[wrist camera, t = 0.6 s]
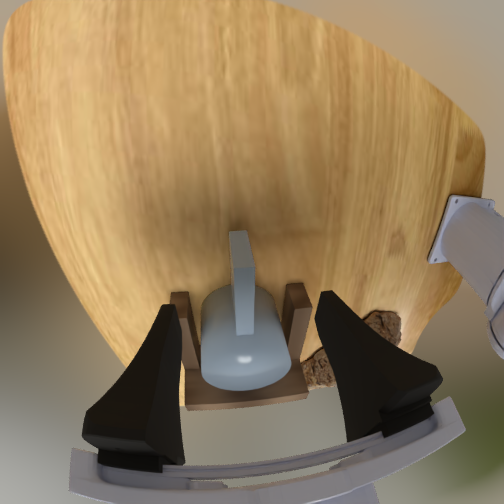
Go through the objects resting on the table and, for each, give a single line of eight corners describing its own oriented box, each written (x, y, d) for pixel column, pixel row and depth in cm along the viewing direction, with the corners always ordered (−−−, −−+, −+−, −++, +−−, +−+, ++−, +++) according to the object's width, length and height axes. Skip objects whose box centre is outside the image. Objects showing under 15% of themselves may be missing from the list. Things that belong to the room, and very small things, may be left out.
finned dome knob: (283, 218, 20) (310, 273, 15) (273, 331, 27) (286, 385, 22) (187, 223, 19) (179, 283, 14) (205, 337, 26) (207, 393, 21)
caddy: (302, 283, 24) (327, 346, 18) (291, 344, 29) (306, 398, 23) (171, 292, 22) (164, 361, 17) (187, 353, 28) (187, 410, 22)
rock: (372, 298, 27) (396, 337, 22) (409, 320, 31) (429, 351, 27) (285, 372, 33) (294, 410, 29) (333, 381, 38) (344, 412, 33)
